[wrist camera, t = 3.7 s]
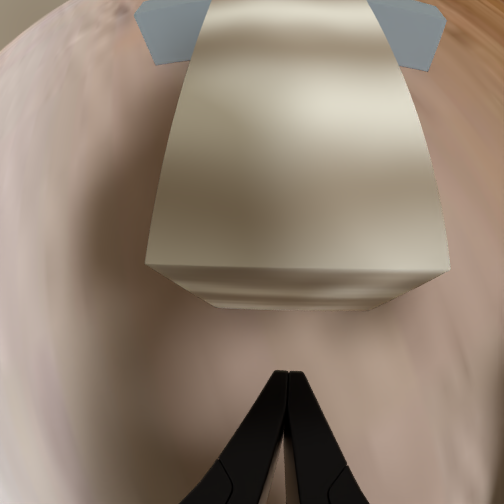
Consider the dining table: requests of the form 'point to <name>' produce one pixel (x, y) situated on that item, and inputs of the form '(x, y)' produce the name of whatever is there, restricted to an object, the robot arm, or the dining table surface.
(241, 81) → the block
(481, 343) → the dining table surface
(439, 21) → the board
